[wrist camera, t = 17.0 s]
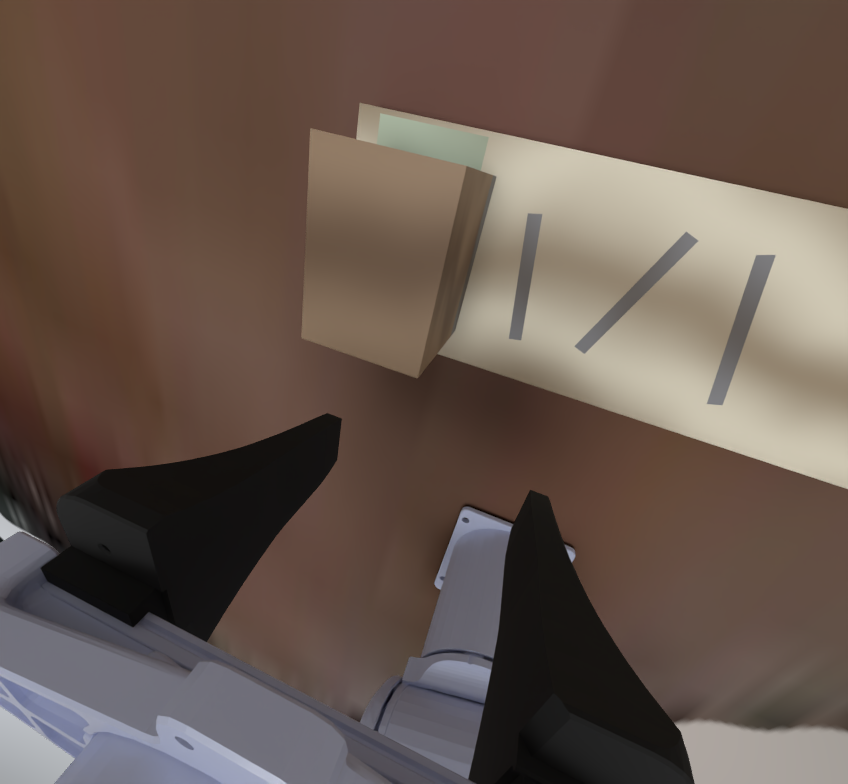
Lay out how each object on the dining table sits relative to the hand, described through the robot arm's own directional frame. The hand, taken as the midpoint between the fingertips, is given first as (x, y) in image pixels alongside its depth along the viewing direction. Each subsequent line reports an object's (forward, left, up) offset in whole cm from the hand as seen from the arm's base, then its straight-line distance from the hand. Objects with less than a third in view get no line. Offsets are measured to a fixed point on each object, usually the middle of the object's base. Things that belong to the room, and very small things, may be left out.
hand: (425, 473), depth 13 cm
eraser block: (+6, +4, -8) cm, 11 cm away
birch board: (+6, -6, -9) cm, 13 cm away
